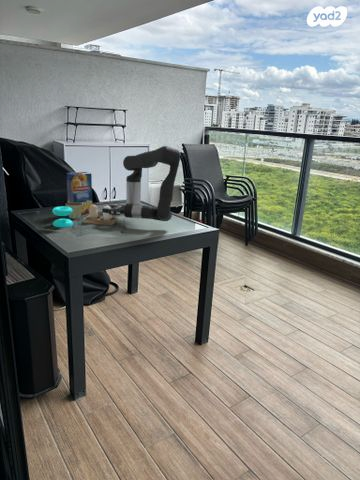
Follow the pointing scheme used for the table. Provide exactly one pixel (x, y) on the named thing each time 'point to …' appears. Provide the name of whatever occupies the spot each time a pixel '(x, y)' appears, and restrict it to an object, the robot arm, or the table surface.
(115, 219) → the egg holder
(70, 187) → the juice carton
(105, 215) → the cream egg
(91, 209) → the brown egg
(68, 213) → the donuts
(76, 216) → the flower pot
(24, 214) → the table surface
